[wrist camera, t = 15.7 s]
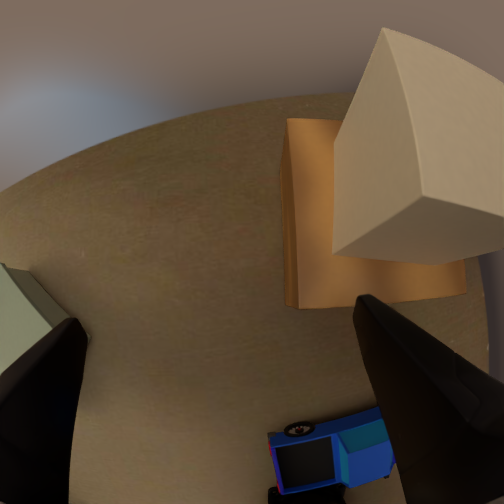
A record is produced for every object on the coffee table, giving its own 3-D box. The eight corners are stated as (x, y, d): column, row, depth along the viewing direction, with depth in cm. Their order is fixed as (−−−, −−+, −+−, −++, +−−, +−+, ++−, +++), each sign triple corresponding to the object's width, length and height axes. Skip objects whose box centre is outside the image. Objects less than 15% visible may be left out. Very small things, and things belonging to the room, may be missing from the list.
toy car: (412, 441, 17) (439, 465, 12) (279, 481, 17) (282, 518, 12) (412, 378, 18) (445, 394, 13) (265, 419, 18) (266, 452, 13)
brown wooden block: (396, 175, 21) (438, 134, 14) (410, 296, 19) (466, 293, 12) (279, 171, 21) (286, 117, 14) (285, 305, 19) (298, 309, 12)
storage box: (94, 335, 19) (65, 341, 15) (63, 410, 18) (37, 422, 14) (28, 268, 20) (0, 262, 16) (3, 341, 19) (-22, 343, 15)
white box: (435, 265, 12) (553, 234, 4) (331, 255, 13) (422, 195, 5) (427, 163, 13) (509, 86, 5) (333, 143, 14) (382, 26, 6)
